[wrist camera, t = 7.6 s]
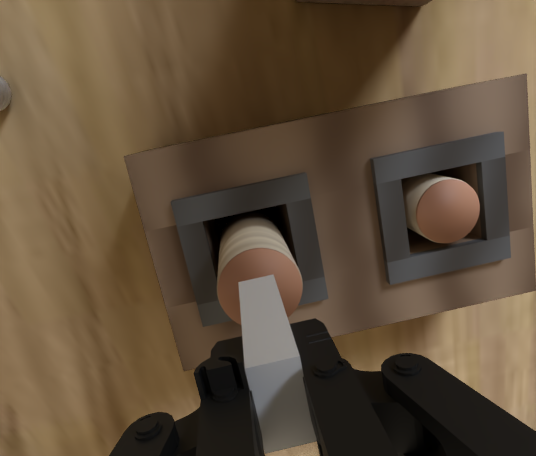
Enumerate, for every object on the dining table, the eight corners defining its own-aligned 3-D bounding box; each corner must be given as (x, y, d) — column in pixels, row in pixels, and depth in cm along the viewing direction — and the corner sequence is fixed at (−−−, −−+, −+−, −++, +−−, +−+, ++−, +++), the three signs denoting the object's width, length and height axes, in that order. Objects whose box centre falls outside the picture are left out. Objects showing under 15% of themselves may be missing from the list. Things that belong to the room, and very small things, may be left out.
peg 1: (230, 203, 27) (232, 236, 19) (289, 222, 27) (315, 262, 19) (212, 260, 28) (205, 317, 19) (269, 277, 28) (286, 338, 20)
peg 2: (381, 159, 33) (432, 169, 25) (426, 175, 33) (491, 190, 25) (362, 207, 34) (406, 233, 25) (407, 222, 34) (464, 251, 26)
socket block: (193, 317, 35) (182, 376, 27) (149, 149, 31) (120, 156, 23) (469, 255, 36) (542, 293, 28) (455, 86, 32) (533, 72, 24)
